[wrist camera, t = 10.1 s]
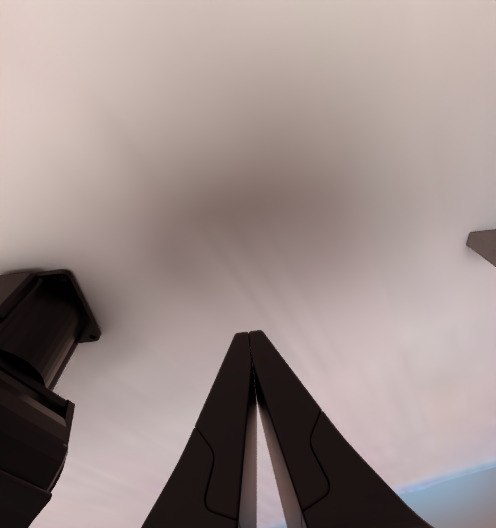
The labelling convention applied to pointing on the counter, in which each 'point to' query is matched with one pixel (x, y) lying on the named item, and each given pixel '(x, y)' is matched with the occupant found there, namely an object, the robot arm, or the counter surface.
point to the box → (484, 244)
